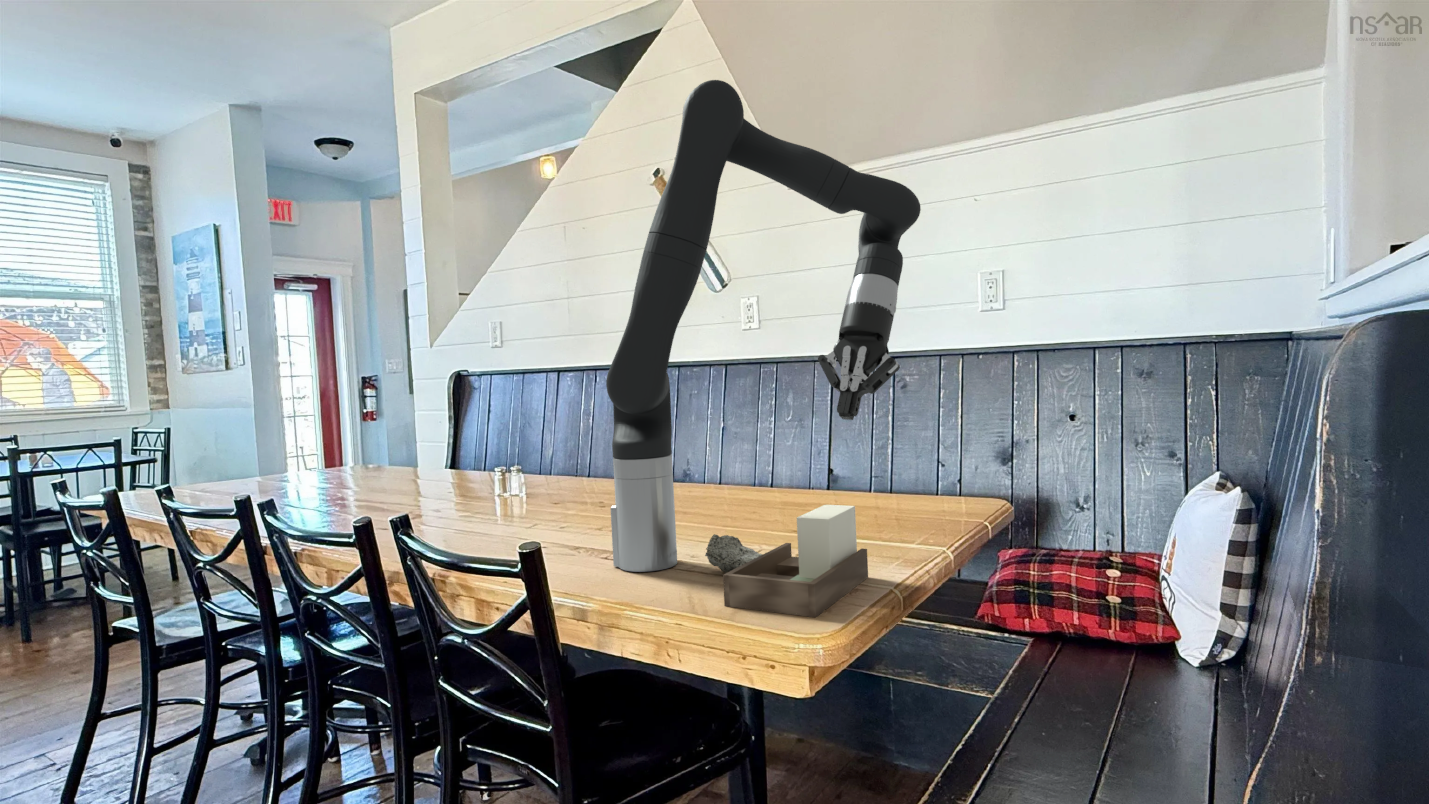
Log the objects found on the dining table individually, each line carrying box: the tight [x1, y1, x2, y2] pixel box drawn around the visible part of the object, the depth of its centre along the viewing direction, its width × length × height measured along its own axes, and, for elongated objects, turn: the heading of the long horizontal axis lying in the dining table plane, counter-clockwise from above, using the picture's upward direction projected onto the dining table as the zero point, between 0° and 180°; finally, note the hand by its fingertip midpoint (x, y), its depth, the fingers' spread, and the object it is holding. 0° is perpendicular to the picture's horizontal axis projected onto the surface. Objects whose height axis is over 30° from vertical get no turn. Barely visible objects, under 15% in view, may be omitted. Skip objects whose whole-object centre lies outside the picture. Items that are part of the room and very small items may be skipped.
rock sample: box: [704, 533, 764, 573], centre depth 115 cm, size 10×8×9 cm
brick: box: [796, 504, 858, 579], centre depth 106 cm, size 4×10×8 cm, turn 150°
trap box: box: [722, 542, 869, 618], centre depth 103 cm, size 12×19×4 cm, turn 150°
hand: (846, 417), depth 113 cm, fingers closed
